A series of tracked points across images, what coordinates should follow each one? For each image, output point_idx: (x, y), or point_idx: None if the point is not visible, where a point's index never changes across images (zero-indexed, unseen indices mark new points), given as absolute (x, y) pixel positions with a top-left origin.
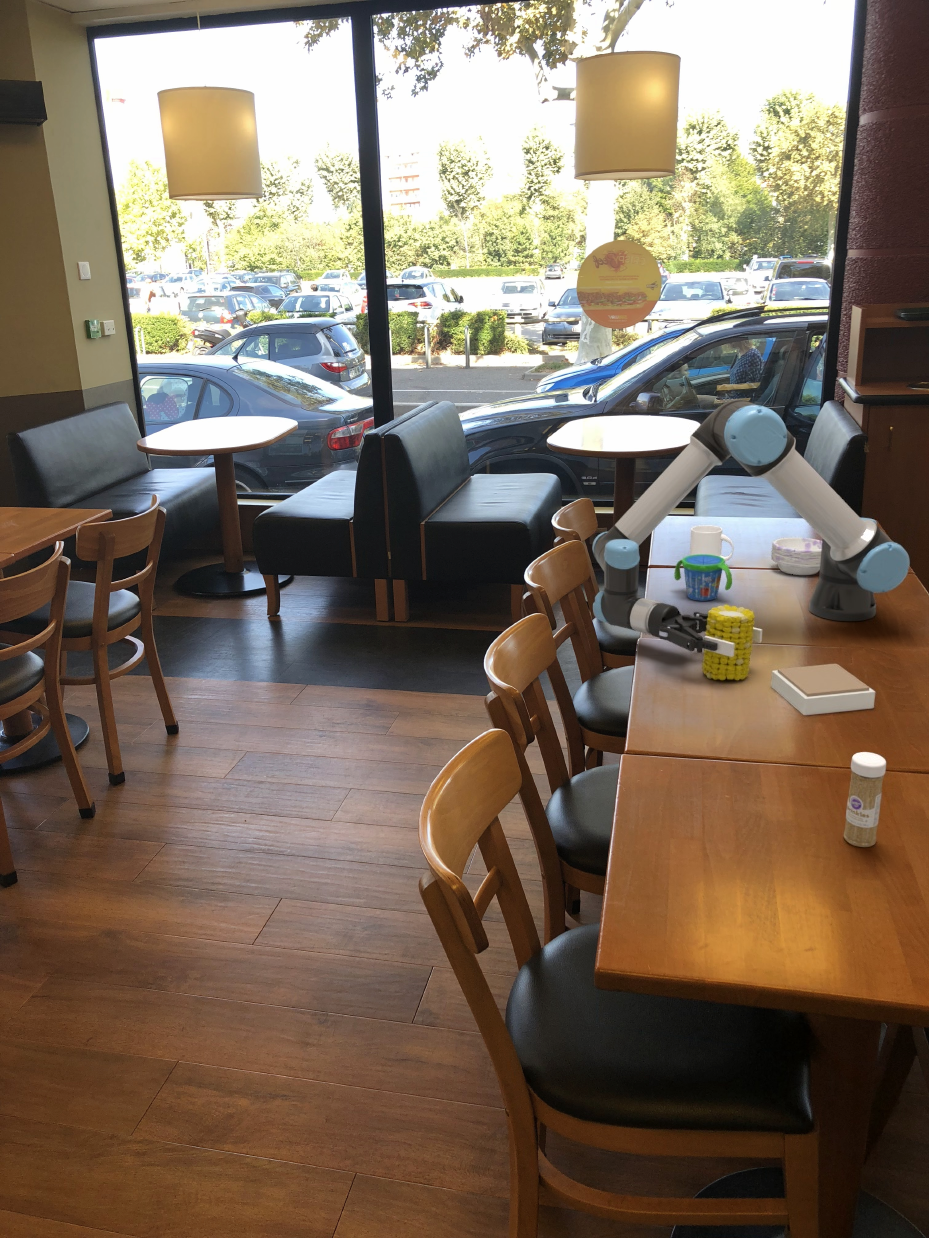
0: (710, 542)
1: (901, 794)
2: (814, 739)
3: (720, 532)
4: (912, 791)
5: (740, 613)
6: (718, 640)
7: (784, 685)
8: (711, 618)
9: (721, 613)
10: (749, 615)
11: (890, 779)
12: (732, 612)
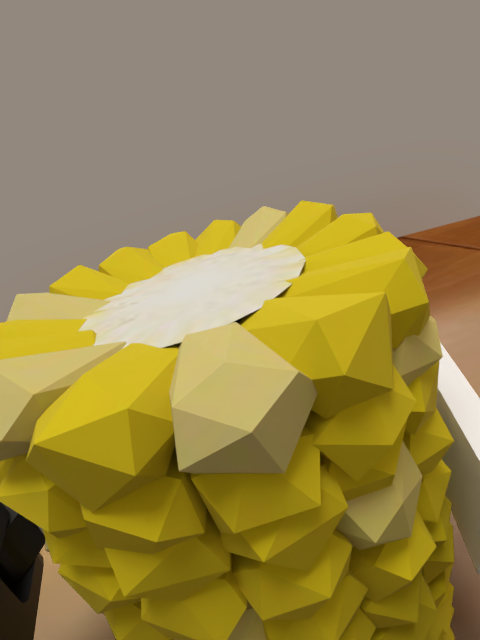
0: None
1: (463, 226)
2: (449, 283)
3: None
4: (445, 226)
5: (135, 286)
6: (462, 376)
7: None
8: (420, 330)
9: (243, 301)
10: (191, 239)
11: (445, 235)
12: (133, 306)
